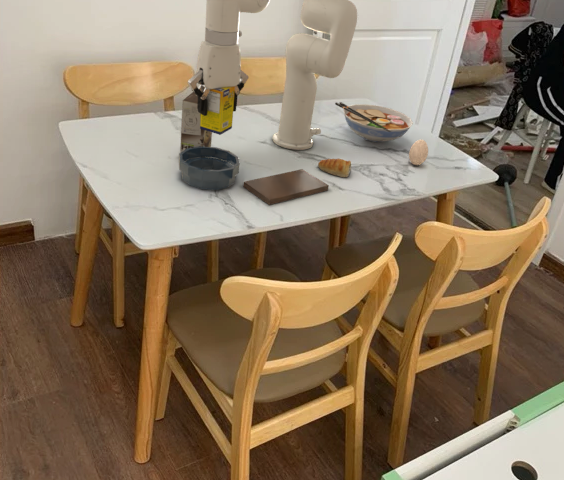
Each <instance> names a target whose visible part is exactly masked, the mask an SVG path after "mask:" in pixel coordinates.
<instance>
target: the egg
mask: <svg viewBox="0 0 564 480" xmlns="http://www.w3.org/2000/svg"><path fill="white" fill-rule="evenodd" d="M428 154H429V145H428V143H427V142H426V140H424V139H418V140H416V141H415V142H413V144H412V145H411V147H410V149H409V152H408V158H409V161H410V163H411V164H412V165H414V166H420V165H422V164H423V163H424V162H425V161H426V160H427V158H428V156H429V155H428Z"/></svg>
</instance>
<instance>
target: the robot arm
mask: <svg viewBox="0 0 564 480" xmlns="http://www.w3.org/2000/svg"><path fill="white" fill-rule="evenodd" d="M270 3H271V0H206V4H205V5H206V8H205V27H204V28H205V29H204V41H203V40H202V41H201V43H200V45H199V46H200V47H199V50H198V54H197V62H196V69H195V71H196V72H195V74H194V75H192V77H190V78H189V79H188V80H187V85H188V86H189V88H190V89H191V91H192V92H194V93H195V94H196V96H198V103H197V109H198V112H199V113H200V114H202V115H203V116H206V115H207V108H208V100H207V99H206V97H207V95H208V93H209V91H210V89H217V88H224V87H233V86H235V92H234V106H233V113H234V112H236V111H237V105H238V97H239V96H240V95H241V91H242V90H243V88H244V87H245V84H246V83H247V81H248V80H249V78H250V77H249V75H248V74H247V73H245V71H243V70H242V59H241V58H242V57H241V56H242V55H241V45H240V43H239V38H241V37H242V35H243V33H242V31H241V30H240V18H241V13H246V14H247V13H248V14H257V13H260V12H262V11H264V10H266V8H268V6H269V4H270ZM301 5H302V6H301V10H300V16H299V17H300V22H301V24H302V25H303V26H304V27H305V28H308V29H309V30H313V31H315V32H319V33H322V34H326V35H329V36H330V37H329V39H326V38H323V37H320V36H317V35H313V34H310V33H304V32H303V33H302V32H298V33H295V34H293V35H291V36H290V37H289V39H288V40H287V42H286V44H285V52H284V53H285V55H284V56H285V77H284V78H285V79H284V86H283V92H282V103H281V110H280V116H279V124H278V131H277V132H275V133H274V134H272V138H271V140H272V142H273V143H274V144H275V145H277V146H279V147H282V148H284V149H286V150H287V149H288V150H293V151H303V150H304V151H305V150H308V149H310V148H312V147H313V145H314V140H313V138H312V137H313V136H314V135H316V136H317V135H320V134H321V133H322V130H321V128H320V127H316V128H313V127H312V121H313V115H314V108H315V104H316V103H315V102H316V96H317V92H318V84H317V78H316V76H315V75H317V76H321V77H323V78H328V79H335V78H338V77H339V76H340V75H341V74H342V71H343V70H344V68H345V65H346V61H347V58H348V56H349V52H350V49H351V44H352V41H353V38H354V35H355V31H356V27H357V23H358V9H357V7H356V5H355V3H353V2H352V1H351V0H303V1H302V4H301ZM197 84H198V85H199V86H198V85H197ZM204 88H205V89H204ZM203 90H204V91H203ZM202 92H203V93H202Z"/></svg>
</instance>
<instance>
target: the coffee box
mask: <svg viewBox="0 0 564 480" xmlns="http://www.w3.org/2000/svg"><path fill="white" fill-rule="evenodd" d="M197 103H198V96H196V94H195V93H194V92H193V91H192V92H191V93H190V94H189V95H187V96H186V97H185V98H183V99H182V105H181V107H182V108H181V122H180V123H181V124H180V125H181V127H180V147H179V153H181V152H182V151H184V150H185V149H187V148H192V147H198V146H204V147H212V140H213V139H212V138H213V132H209V131H206V130H202V129H200V118H201V114H200V113H199V112H198V109H197ZM197 158H198V157H197ZM191 159H192V158H191Z"/></svg>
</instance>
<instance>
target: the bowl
mask: <svg viewBox="0 0 564 480" xmlns="http://www.w3.org/2000/svg"><path fill="white" fill-rule="evenodd" d="M197 157H198V158H197ZM191 158H192V159H191ZM240 166H241V163H240V158H239V156H237V155H236V154H235V153H233V152H232V151H230V150H227V149H224V148H221V147H217V146H211V147H204V146H198V147H192V148H187V149H185V150H184V151H182V152H181V153H180V152H179V153H178V169H179V171H180V172H181V181H183V182H184V183H186V184H187V185H189V186H190V187H192V188H193V187H194V188H196V189H200V190H208V191H218V190H223V189H227V188H230V187H231V186H232V185H234V184H235V182H236V176H237V175H239V173H240Z"/></svg>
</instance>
